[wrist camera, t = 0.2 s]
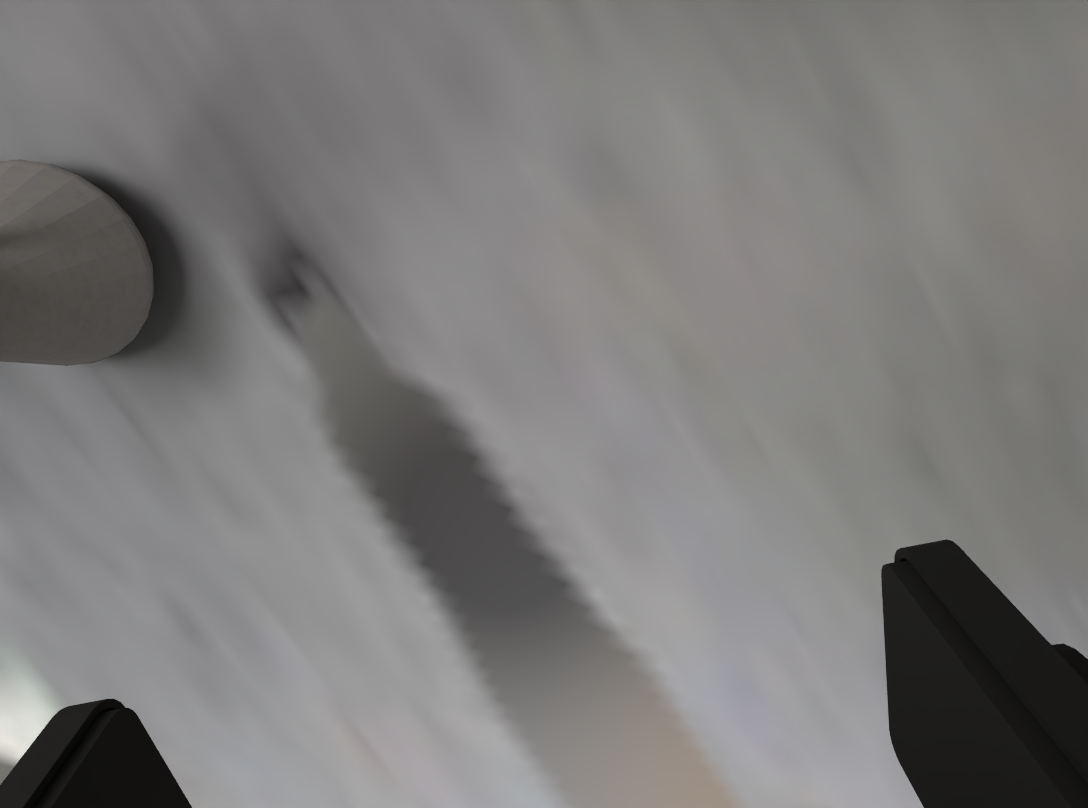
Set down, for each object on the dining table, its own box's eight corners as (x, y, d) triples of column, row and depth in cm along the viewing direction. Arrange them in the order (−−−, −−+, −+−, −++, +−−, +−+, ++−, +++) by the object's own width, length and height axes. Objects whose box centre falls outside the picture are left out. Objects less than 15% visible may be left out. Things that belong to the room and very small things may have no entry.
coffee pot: (137, 381, 46) (-31, 503, 33) (-49, 289, 44) (-316, 379, 30) (271, 65, 39) (129, 51, 26) (59, -65, 37) (-225, -159, 23)
